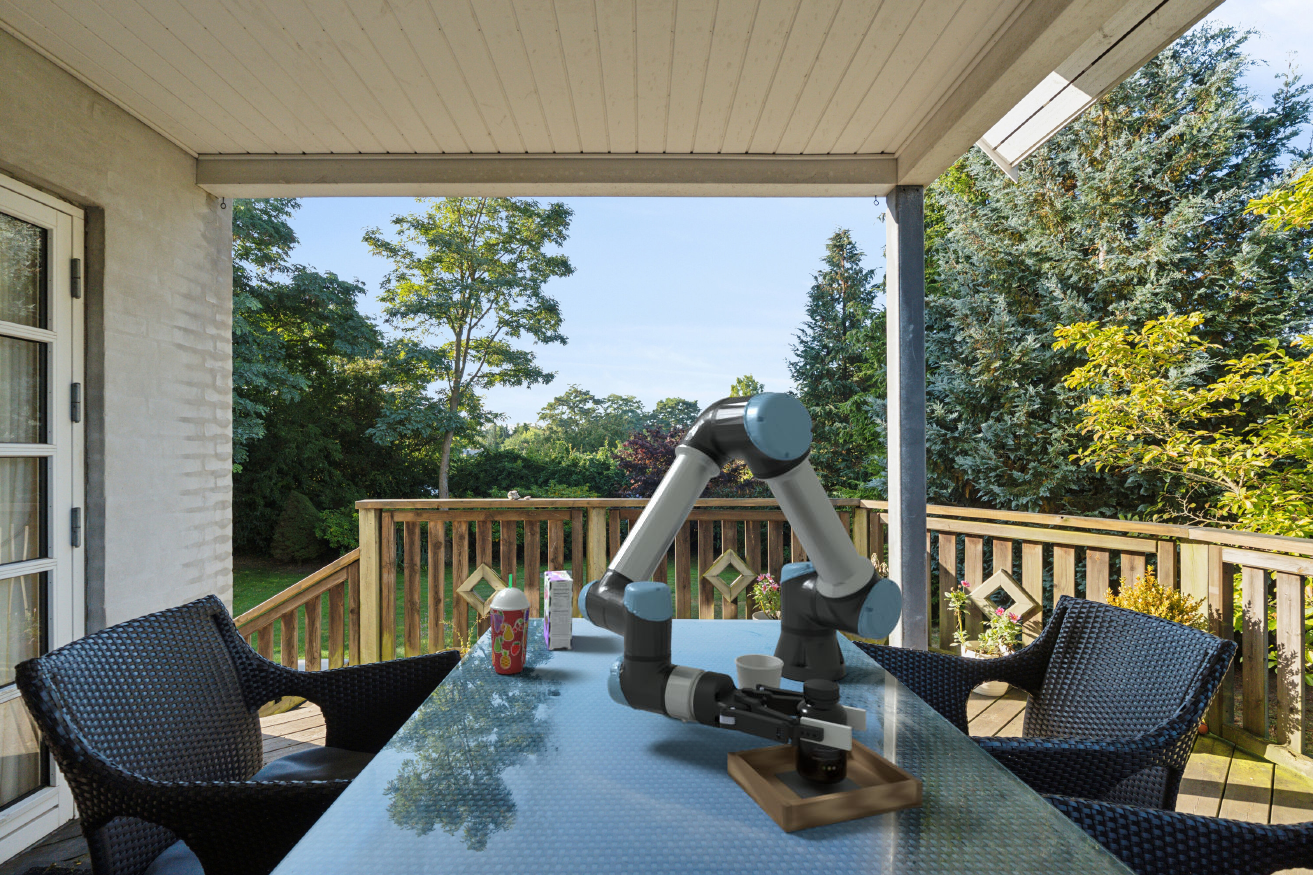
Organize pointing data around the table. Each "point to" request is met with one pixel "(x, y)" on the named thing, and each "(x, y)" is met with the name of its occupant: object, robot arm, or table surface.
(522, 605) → the smoothie
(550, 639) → the candy box
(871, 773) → the tray
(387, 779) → the table surface
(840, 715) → the supplement bottle
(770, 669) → the dixie cup
